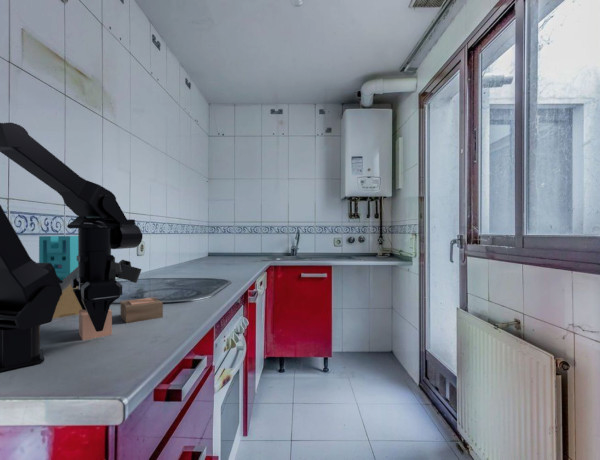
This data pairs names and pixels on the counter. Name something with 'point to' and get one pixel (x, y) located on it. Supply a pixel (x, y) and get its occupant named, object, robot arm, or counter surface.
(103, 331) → the terracotta cube
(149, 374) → the counter surface
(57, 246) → the toy
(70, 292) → the sandwich container
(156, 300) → the oak base block
